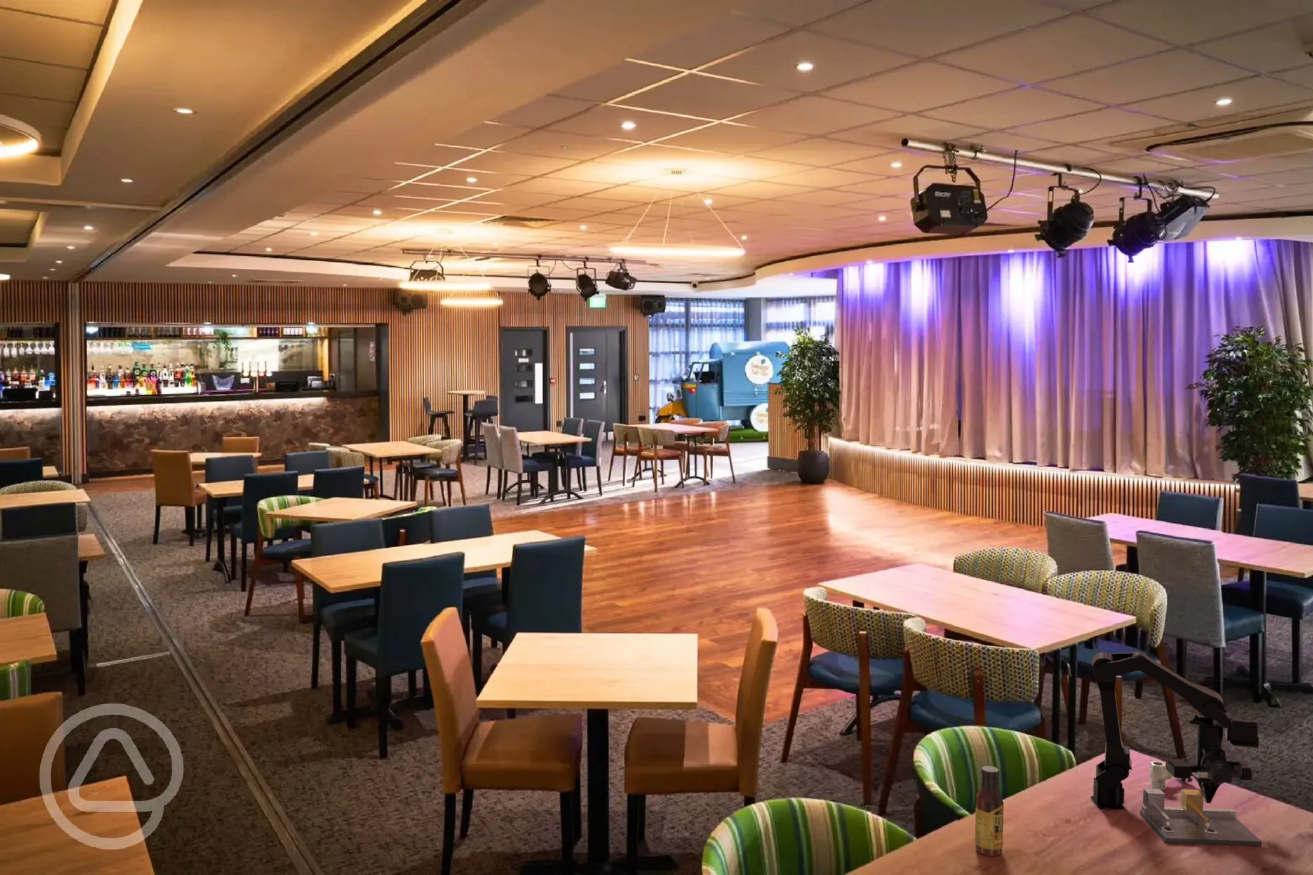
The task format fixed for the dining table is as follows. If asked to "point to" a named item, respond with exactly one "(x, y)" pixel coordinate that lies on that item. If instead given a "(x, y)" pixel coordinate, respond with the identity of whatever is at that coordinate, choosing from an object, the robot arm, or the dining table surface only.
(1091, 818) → the dining table surface
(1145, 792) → the bolt plate dividers
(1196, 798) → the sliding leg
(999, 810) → the sauce bottle
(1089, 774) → the dining table surface
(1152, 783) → the valve
